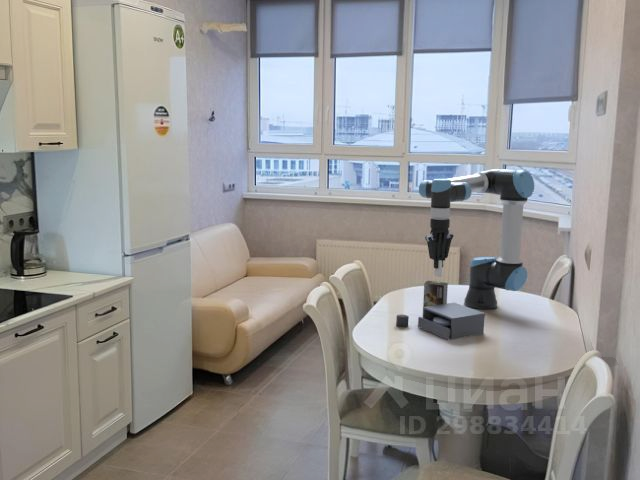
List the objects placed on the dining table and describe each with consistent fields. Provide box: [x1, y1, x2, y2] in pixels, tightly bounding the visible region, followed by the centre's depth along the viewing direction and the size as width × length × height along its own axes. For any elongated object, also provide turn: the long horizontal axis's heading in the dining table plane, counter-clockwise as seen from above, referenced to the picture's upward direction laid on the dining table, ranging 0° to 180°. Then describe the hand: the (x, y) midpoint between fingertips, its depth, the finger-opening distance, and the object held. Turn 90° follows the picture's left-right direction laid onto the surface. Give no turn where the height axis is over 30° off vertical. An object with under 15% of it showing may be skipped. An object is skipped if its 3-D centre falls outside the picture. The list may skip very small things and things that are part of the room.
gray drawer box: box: [422, 302, 486, 340], centre depth 250 cm, size 17×18×8 cm
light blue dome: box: [433, 316, 451, 326], centre depth 247 cm, size 8×8×2 cm
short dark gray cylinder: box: [395, 314, 410, 328], centre depth 255 cm, size 5×5×4 cm
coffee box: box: [422, 280, 449, 308], centre depth 265 cm, size 9×6×16 cm
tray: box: [417, 316, 451, 340], centre depth 249 cm, size 17×18×4 cm
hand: (438, 275), depth 246 cm, fingers closed
